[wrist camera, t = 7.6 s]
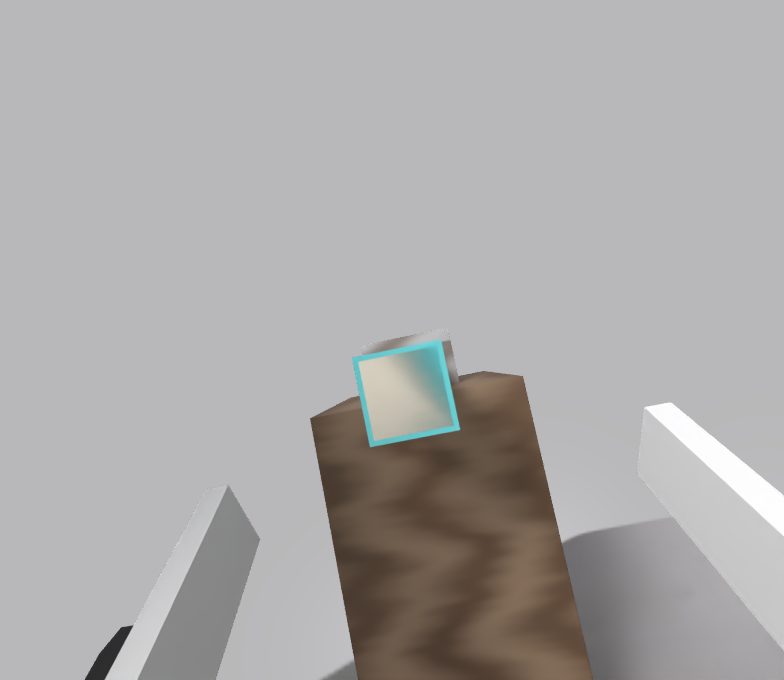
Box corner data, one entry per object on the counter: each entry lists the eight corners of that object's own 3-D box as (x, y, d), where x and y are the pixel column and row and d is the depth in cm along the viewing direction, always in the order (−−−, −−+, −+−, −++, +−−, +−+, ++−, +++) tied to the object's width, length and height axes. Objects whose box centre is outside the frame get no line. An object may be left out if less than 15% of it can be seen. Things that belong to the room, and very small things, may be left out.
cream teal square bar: (369, 447, 13) (352, 357, 14) (398, 386, 35) (391, 353, 36) (460, 429, 13) (441, 339, 13) (432, 380, 35) (425, 345, 35)
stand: (402, 920, 21) (298, 352, 24) (408, 701, 35) (342, 356, 38) (642, 893, 21) (507, 308, 23) (552, 679, 35) (474, 329, 37)
